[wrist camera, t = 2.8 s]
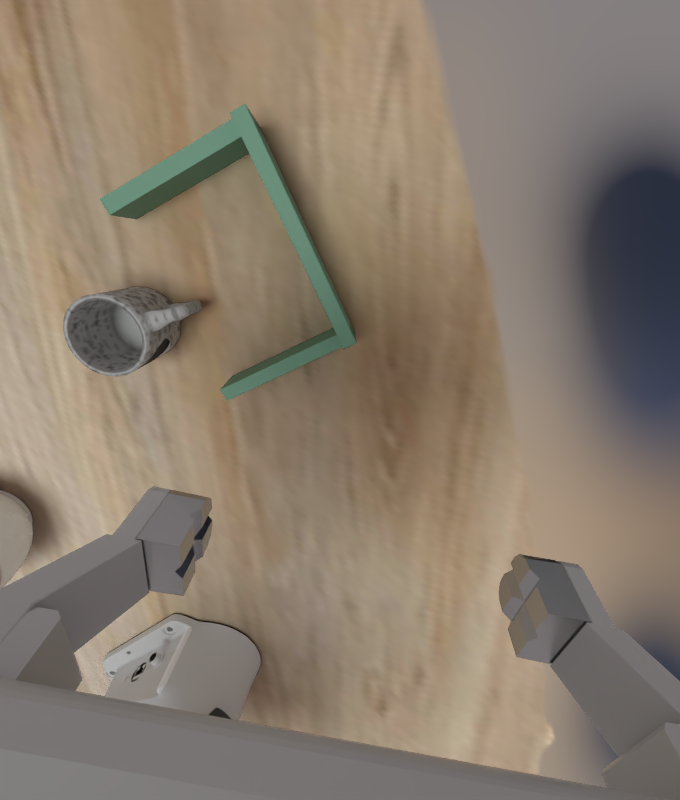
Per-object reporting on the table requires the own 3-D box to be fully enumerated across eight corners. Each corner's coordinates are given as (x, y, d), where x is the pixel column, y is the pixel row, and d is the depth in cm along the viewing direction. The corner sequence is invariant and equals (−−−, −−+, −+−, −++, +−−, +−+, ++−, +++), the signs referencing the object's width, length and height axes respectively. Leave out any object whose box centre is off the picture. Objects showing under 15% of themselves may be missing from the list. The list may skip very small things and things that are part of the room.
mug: (132, 363, 38) (91, 385, 31) (98, 298, 35) (46, 308, 29) (223, 334, 37) (199, 351, 30) (194, 265, 34) (161, 269, 28)
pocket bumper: (238, 386, 38) (223, 404, 34) (127, 205, 32) (91, 197, 28) (354, 331, 36) (356, 343, 32) (259, 126, 30) (244, 103, 26)
